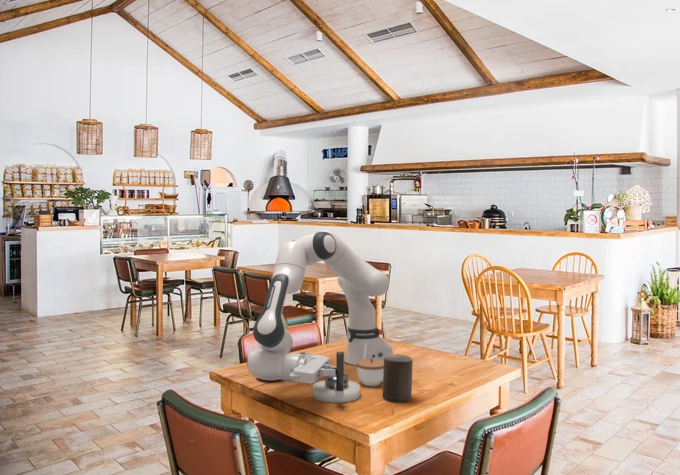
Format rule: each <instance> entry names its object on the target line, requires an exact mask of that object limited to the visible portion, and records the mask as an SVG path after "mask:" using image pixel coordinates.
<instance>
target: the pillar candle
mask: <svg viewBox="0 0 680 475" xmlns="http://www.w3.org/2000/svg"><path fill="white" fill-rule="evenodd" d="M412 384H413V357H412V356H409V355H406V354H405V355H404V354H394V353H393V354H392V355H387V356H384V371H383V381H382V398H383V400H385V401H387V402H393V403H407V402H406V401H408V402H409V400H410V399H411V400H412V393H413V392H412V390H413V389H412ZM411 400H410V401H411Z"/></svg>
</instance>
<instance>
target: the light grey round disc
mask: <svg viewBox="0 0 680 475" xmlns="http://www.w3.org/2000/svg"><path fill="white" fill-rule="evenodd" d="M343 390H344V397H336V395H335V391H334V388H329V387H326V386H325V379H324V380H320V381H316V382H315V383H313V385H312V397H313V398H314V399H316V400H317V401H321V402H325V403H332V404H341V403H343V404H345V403H350V402H353V401H357V400H358V399H360V397H361V385H360V384H359V383H357V382H355V381H351V380H348V386H347V387H345V388H343Z"/></svg>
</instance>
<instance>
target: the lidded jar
mask: <svg viewBox="0 0 680 475" xmlns="http://www.w3.org/2000/svg"><path fill="white" fill-rule="evenodd" d="M383 371H384V361H382V360H377V359H373V358H370V359H364V360H359V361H358V362H357V365H356V372H357V374H356V375H357V376H358V379H359V381H360V382H361V383H362V384H363V385H364V386H366V387H377V386H380V384H381V383H383Z"/></svg>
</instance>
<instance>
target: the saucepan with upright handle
mask: <svg viewBox="0 0 680 475" xmlns="http://www.w3.org/2000/svg"><path fill="white" fill-rule="evenodd" d="M335 355H336V363H335V364H336V366H335V367H336V374H335V375H334V376H332V375H329V376H324V380H325V386H326V387H329V388H334V391H335V395H336V397H344V390H343V388H345V387H347V386H348V381H349V375H348V374H346V373H345V361H344V360H345V352H344V351H337V352H336V354H335Z"/></svg>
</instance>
